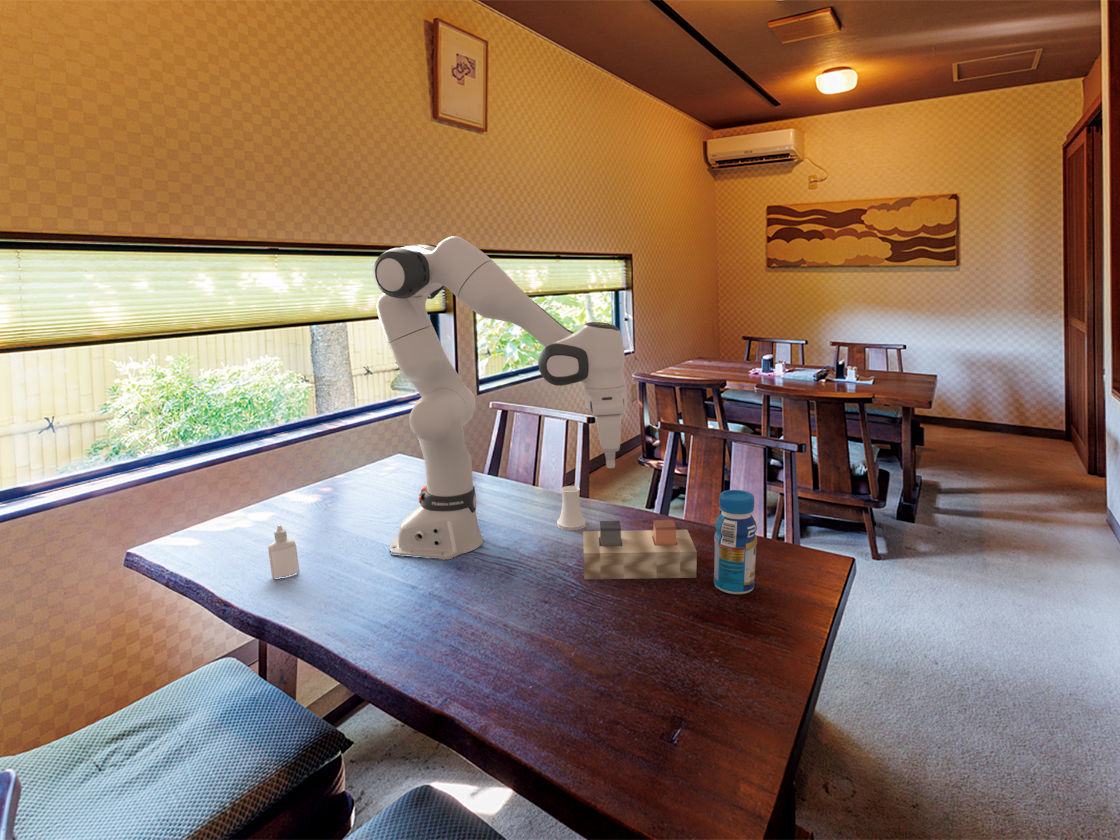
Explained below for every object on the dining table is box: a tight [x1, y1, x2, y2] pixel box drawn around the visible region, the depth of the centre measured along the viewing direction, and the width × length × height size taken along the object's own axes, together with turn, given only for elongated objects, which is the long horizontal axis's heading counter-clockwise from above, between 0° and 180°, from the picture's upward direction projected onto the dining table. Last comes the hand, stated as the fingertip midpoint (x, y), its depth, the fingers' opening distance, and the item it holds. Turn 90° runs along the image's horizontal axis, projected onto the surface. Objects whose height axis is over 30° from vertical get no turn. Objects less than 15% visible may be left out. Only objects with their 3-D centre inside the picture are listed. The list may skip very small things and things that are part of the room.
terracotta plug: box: [653, 519, 677, 545], centre depth 140 cm, size 4×4×6 cm
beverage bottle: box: [713, 489, 758, 595], centre depth 129 cm, size 8×8×20 cm
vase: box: [556, 485, 587, 531], centre depth 165 cm, size 8×8×10 cm
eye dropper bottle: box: [267, 524, 300, 579], centre depth 141 cm, size 4×6×12 cm
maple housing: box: [582, 529, 698, 580], centre depth 141 cm, size 24×12×6 cm, turn 88°
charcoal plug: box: [599, 520, 622, 546], centre depth 140 cm, size 4×4×6 cm
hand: (609, 460), depth 138 cm, fingers open, 8 cm apart
